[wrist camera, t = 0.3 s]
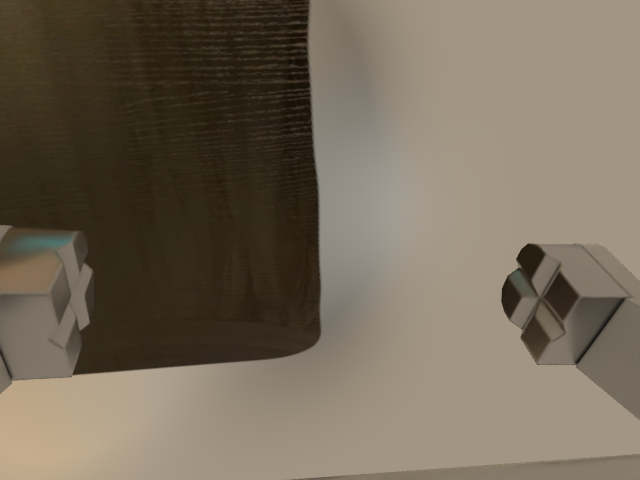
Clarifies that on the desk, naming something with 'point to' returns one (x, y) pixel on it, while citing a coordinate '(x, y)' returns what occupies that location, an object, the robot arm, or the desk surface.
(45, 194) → the desk surface
